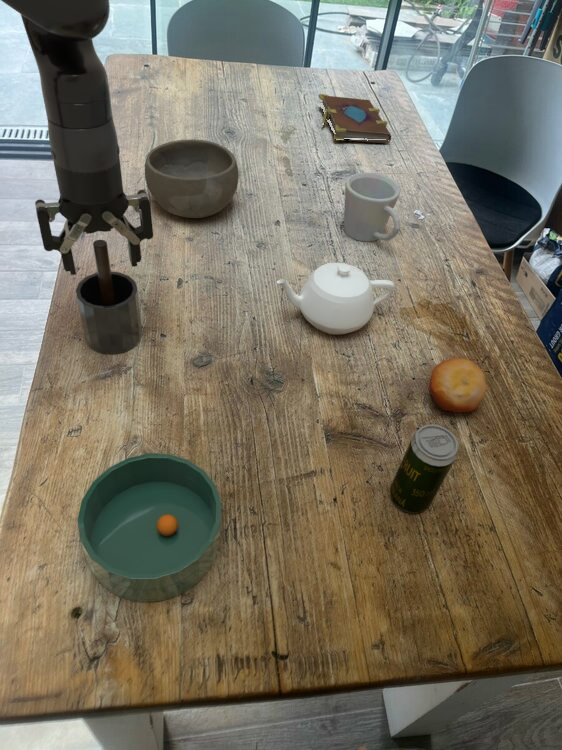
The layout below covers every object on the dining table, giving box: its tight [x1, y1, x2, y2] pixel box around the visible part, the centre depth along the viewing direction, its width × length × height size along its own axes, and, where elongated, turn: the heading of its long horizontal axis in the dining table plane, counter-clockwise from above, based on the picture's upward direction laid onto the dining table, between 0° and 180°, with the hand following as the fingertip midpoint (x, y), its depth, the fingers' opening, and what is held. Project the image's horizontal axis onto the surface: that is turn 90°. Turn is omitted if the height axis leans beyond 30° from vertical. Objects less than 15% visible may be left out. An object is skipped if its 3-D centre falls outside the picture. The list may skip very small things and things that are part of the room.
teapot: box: [276, 261, 396, 335], centre depth 94 cm, size 20×12×10 cm, turn 100°
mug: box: [343, 171, 401, 243], centre depth 111 cm, size 10×15×10 cm
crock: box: [75, 270, 143, 355], centre depth 86 cm, size 8×8×9 cm
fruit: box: [428, 357, 488, 413], centre depth 85 cm, size 8×8×8 cm
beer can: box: [389, 423, 459, 514], centre depth 70 cm, size 5×5×12 cm
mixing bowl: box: [76, 453, 222, 603], centre depth 65 cm, size 15×15×6 cm
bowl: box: [144, 139, 240, 219], centre depth 113 cm, size 17×18×10 cm
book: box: [318, 93, 392, 144], centre depth 149 cm, size 16×25×5 cm, turn 9°
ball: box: [157, 514, 178, 536], centre depth 67 cm, size 2×2×2 cm
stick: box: [92, 239, 116, 306], centre depth 83 cm, size 2×2×16 cm
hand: (103, 267), depth 80 cm, fingers open, 7 cm apart
